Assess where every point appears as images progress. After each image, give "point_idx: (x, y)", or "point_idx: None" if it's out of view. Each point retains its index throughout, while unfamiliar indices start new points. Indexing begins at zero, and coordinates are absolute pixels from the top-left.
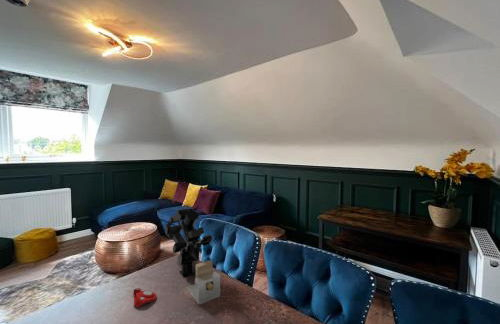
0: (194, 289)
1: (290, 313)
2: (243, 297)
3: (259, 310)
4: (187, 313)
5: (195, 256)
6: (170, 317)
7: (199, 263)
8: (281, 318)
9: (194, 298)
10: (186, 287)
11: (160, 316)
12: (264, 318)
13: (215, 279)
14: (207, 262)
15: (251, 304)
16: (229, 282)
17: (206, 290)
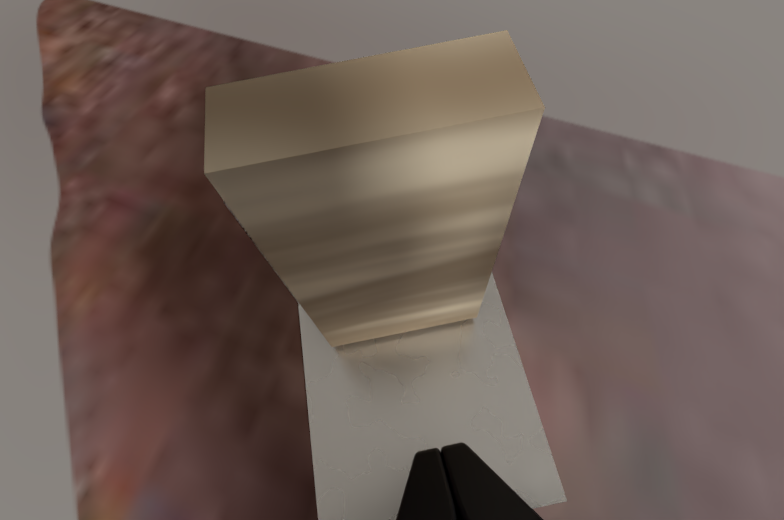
0: (481, 403)
1: (56, 21)
2: (159, 179)
3: (158, 69)
4: (549, 159)
5: (534, 516)
6: (662, 160)
7: (458, 125)
8: (113, 10)
9: (492, 278)
10: (563, 497)
11: (738, 188)
12: (176, 27)
13: None
14: (292, 113)
15: (161, 114)
16: (128, 403)
17: None
